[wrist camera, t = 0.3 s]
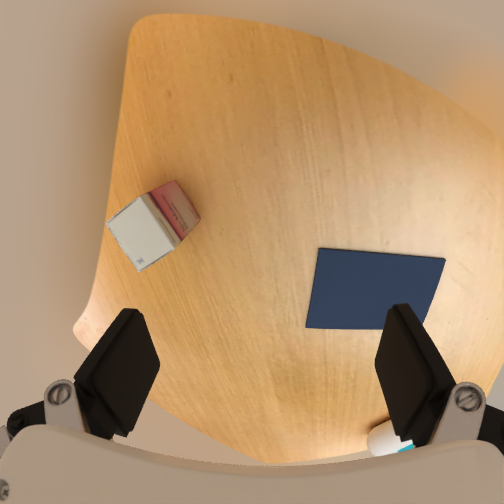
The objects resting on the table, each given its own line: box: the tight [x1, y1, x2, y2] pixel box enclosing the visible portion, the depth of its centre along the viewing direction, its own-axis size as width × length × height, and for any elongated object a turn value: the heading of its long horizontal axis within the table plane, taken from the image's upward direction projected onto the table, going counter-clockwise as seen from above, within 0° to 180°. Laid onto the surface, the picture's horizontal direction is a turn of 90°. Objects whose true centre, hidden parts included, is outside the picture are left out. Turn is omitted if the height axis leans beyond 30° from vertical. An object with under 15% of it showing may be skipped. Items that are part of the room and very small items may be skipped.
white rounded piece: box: [367, 419, 414, 457], centre depth 37 cm, size 12×9×12 cm
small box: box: [106, 180, 200, 272], centre depth 23 cm, size 5×4×8 cm
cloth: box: [306, 248, 446, 329], centre depth 29 cm, size 10×16×1 cm, turn 87°
